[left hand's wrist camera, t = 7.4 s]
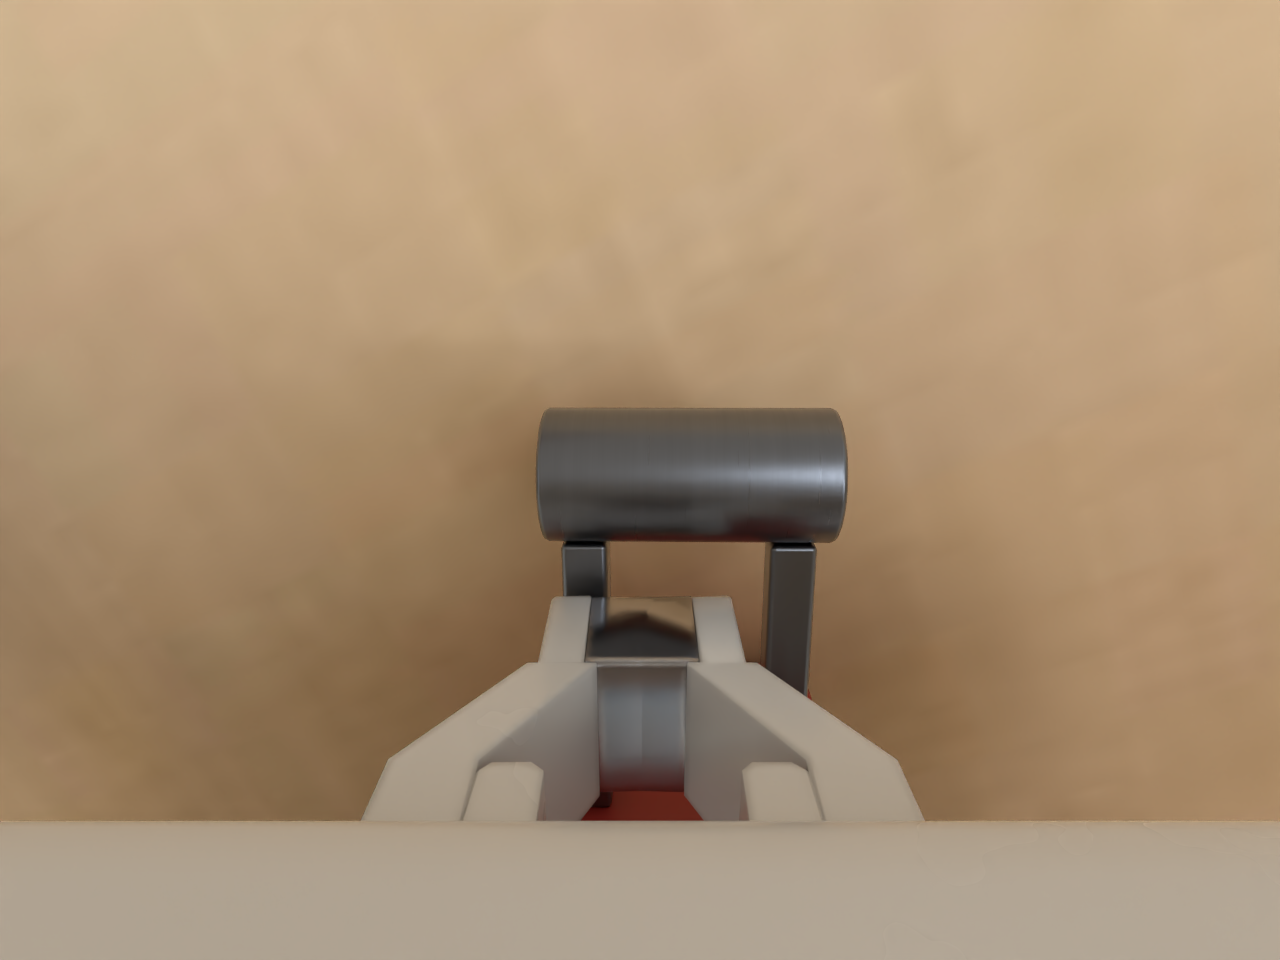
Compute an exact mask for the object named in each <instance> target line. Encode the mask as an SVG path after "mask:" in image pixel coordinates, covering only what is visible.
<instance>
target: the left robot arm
mask: <svg viewBox="0 0 1280 960" xmlns="http://www.w3.org/2000/svg"><path fill="white" fill-rule="evenodd" d="M623 791H660V792H684V796H685V797H686V798H687V800H688V801H689V802H690V803H691V805H692V806H693V807H694V809H695V810H696V811H697V812H698V814H699V815H700V816H701V818H702V819H703V820H704V821H581V819H582V818H583V817H584V815H585V814H586V813H587V812H588V810H589V809H590V808H591V806H592V805H593V804H594V803H595V801H596V800H597V799H598V798H599V796H600V792H623ZM0 960H1280V821H925V820H924V818H923V815H922V813H921V811H920V809H919V806H918V804H917V802H916V800H915V798H914V795H913V793H912V791H911V789H910V786H909V784H908V782H907V780H906V778H905V775H904V773H903V771H902V769H901V767H900V764H899V762H898V760H897V759H895V758H894V757H892V756H891V755H890V754H888V753H887V752H885V751H884V750H882V749H881V748H879V747H878V746H877V745H875V744H874V743H872V742H871V741H869V740H868V739H866V738H865V737H864V736H862V735H861V734H859V733H858V732H856V731H855V730H853V729H852V728H851V727H849V726H848V725H846V724H845V723H843V722H842V721H840V720H839V719H838V718H836V717H835V716H833V715H832V714H830V713H829V712H827V711H826V710H825V709H823V708H822V707H820V706H819V705H817V704H816V703H814V702H813V701H812V700H810V699H809V698H807V697H806V696H804V695H803V694H801V693H800V692H799V691H797V690H796V689H794V688H793V687H791V686H790V685H788V684H787V683H786V682H784V681H783V680H781V679H780V678H778V677H777V676H775V675H774V674H773V673H771V672H770V671H768V670H767V669H765V668H764V667H762V666H761V665H760V664H758V663H752V662H746V660H745V656H744V651H743V647H742V643H741V638H740V634H739V630H738V625H737V621H736V617H735V612H734V608H733V604H732V599H731V598H730V597H729V596H728V595H725V596H703V597H691V596H683V597H598V596H593V598H591V596H555V597H554V598H553V599H552V600H551V605H550V609H549V614H548V618H547V623H546V628H545V632H544V637H543V641H542V646H541V651H540V655H539V660H538V662H533V663H526V664H524V665H523V666H522V667H520V668H519V669H517V670H516V671H514V672H513V673H512V674H510V675H509V676H507V677H506V678H504V679H503V680H501V681H500V682H499V683H497V684H496V685H494V686H493V687H491V688H490V689H488V690H487V691H486V692H484V693H483V694H481V695H480V696H478V697H477V698H475V699H474V700H473V701H471V702H470V703H468V704H467V705H465V706H464V707H462V708H461V709H460V710H458V711H457V712H455V713H454V714H452V715H451V716H449V717H448V718H447V719H445V720H444V721H442V722H441V723H439V724H438V725H437V726H435V727H434V728H432V729H431V730H429V731H428V732H426V733H425V734H424V735H422V736H421V737H419V738H418V739H416V740H415V741H413V742H412V743H411V744H409V745H408V746H406V747H405V748H403V749H402V750H400V751H399V752H398V753H396V754H395V755H393V756H392V757H390V758H389V759H388V761H387V763H386V765H385V767H384V770H383V772H382V774H381V776H380V778H379V781H378V783H377V785H376V787H375V790H374V792H373V794H372V796H371V798H370V801H369V803H368V805H367V807H366V810H365V812H364V814H363V816H362V819H361V821H0Z"/></svg>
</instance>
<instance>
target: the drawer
mask: <svg viewBox="0 0 1280 960" xmlns="http://www.w3.org/2000/svg"><path fill="white" fill-rule="evenodd" d="M847 491H848V457H847V446H846V438H845V433H844V428H843V425H842V422H841V419H840V416H839V414H838V413H837V411H835V410H833V409H831V408H549V409H546V410H545V412H544V414H543V416H542V419H541V422H540V427H539V433H538V441H537V453H536V498H537V510H538V518H539V523H540V528H541V531H542V534H543V536H544V538H545V539H547V540H549V541H564V543H563V545H562V548H561V549H562V577H563V596H591V598H593V596H598V597H611V573H610V541H645V542H765V563H764V586H763V610H762V633H761V656H760V663H758V664H760V665H761V666H762V667H764V668H765V669H767V670H768V671H770V672H771V673H773V674H774V675H775V676H777V677H778V678H780V679H781V680H783V681H784V682H786V683H787V684H788V685H790V686H791V687H793V688H794V689H796V690H797V691H799V692H800V693H801V694H803V695H804V696H806V697H807V698H809V699H810V700H812V699H811V695H810V692H809V689H808V681H809V665H810V649H811V633H812V617H813V601H814V585H815V569H816V554H817V550H816V547H815V545H814V543H830V542H833V541H835V540H836V539H837V537H838V536H839V533H840V531H841V528H842V524H843V521H844V516H845V510H846V503H847ZM581 821H704V820H703V819H702V818H701V816H700V815H699V814H698V812H697V811H696V810H695V809H694V807H693V806H692V805H691V803H690V802H689V801H688V800H687V798H686V797H685V796H684V792H660V791H623V792H600V796H599V798H598V799H597V800H596V801H595V803H594V804H593V805H592V806H591V808H590V809H589V810H588V812H587V813H586V814H585V815H584V817H583V818H582V819H581Z"/></svg>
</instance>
